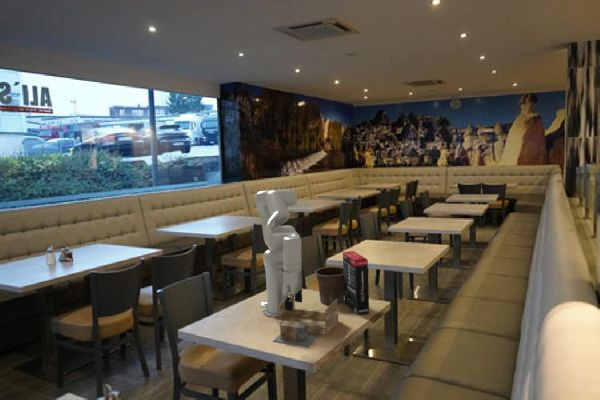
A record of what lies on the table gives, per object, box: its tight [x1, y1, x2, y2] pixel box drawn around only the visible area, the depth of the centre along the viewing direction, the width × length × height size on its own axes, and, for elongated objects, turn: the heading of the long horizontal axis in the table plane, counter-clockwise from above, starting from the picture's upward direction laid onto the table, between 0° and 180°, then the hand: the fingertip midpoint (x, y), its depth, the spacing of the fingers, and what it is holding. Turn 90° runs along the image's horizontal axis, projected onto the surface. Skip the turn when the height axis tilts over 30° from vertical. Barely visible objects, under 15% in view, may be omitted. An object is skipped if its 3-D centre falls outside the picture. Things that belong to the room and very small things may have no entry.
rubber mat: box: [272, 334, 318, 348], centre depth 191 cm, size 16×10×1 cm, turn 67°
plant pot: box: [314, 266, 345, 306], centre depth 234 cm, size 16×16×16 cm
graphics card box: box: [342, 250, 370, 316], centre depth 221 cm, size 17×7×27 cm, turn 17°
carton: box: [278, 295, 340, 335], centre depth 204 cm, size 22×18×11 cm
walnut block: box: [279, 321, 308, 342], centre depth 191 cm, size 10×5×6 cm, turn 66°
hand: (293, 305), depth 190 cm, fingers open, 9 cm apart
